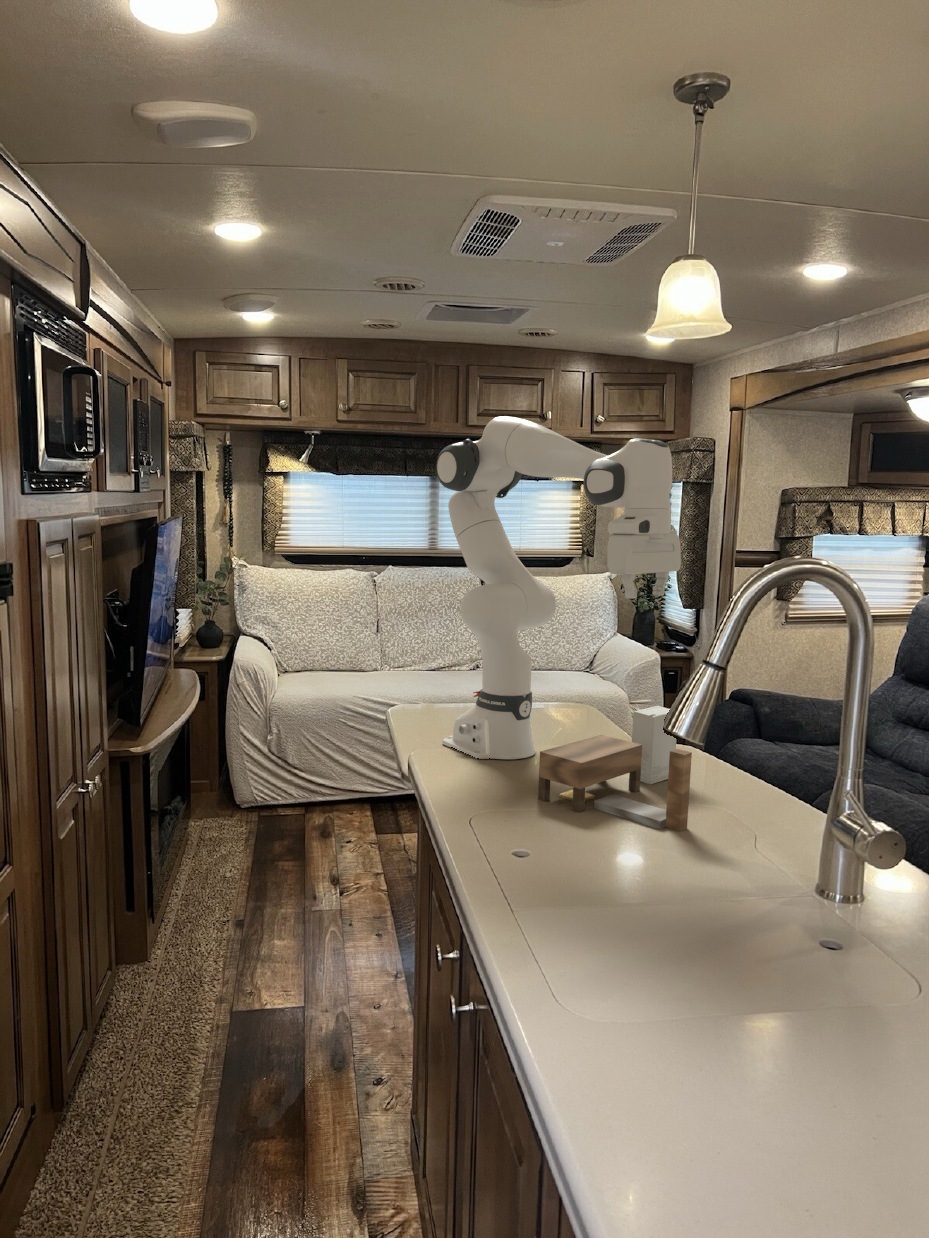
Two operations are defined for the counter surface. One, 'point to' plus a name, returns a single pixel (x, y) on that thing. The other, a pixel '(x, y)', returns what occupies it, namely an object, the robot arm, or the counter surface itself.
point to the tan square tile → (569, 795)
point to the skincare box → (653, 743)
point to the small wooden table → (589, 766)
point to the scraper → (656, 816)
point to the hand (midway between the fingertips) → (644, 596)
